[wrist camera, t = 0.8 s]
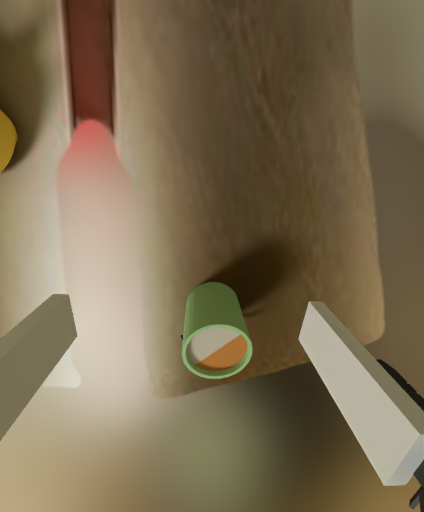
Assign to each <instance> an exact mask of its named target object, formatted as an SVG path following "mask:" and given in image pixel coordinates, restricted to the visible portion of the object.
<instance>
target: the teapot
mask: <svg viewBox="0 0 424 512" xmlns="http://www.w3.org/2000/svg"><path fill="white" fill-rule="evenodd" d="M17 140H18V135H17V133H16V129H15V127H14V125H13V123H12V122H11V121H10V119H9V118H8V117H7V116H6V115H5V114H4V113H3V112H2V111H1V110H0V173H1V172H2V171H3V170H4V169H5V167H6V166H7V165H8V163H9V161H10V159H11V157H12V155H13V152H14V148H15V144H16V142H17Z"/></svg>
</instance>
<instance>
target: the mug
mask: <svg viewBox="0 0 424 512" xmlns="http://www.w3.org/2000/svg"><path fill="white" fill-rule="evenodd" d="M181 338H182V339H183V346H182V358H183V361H184V363H185V365H186V366H187V368H188V369H189V370H190V371H192V372H193V373H195V374H196V375H199V376H201V377H205V378H212V379H218V378H225V377H228V376H231V375H234V374H236V373H238V372H239V371H240V370H242V369H243V368H244V367H245V366H246V365H247V363H248V362H249V360H250V358H251V355H252V344H251V341H250V337H249V334H248V331H247V328H246V324H245V321H244V318H243V315H242V311H241V308H240V305H239V302H238V299H237V296H236V294H235V292H234V291H233V290H232V289H231V288H230V287H229V286H227V285H225V284H223V283H219V282H208V283H204V284H201V285H199V286H197V287H196V288H195V289H194V290H193V291H192V292H191V293H190V294H189V296H188V299H187V303H186V314H185V324H184V335H181Z"/></svg>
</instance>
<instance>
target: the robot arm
mask: <svg viewBox="0 0 424 512" xmlns="http://www.w3.org/2000/svg"><path fill="white" fill-rule="evenodd" d="M76 337H77V332H76V327H75V323H74V318H73V313H72V309H71V303H70V298H69V295H67V294H53V295H52V296H51V297H49V298H48V299H47V300H46V301H45V302H43V303H42V304H41V305H40V306H39V307H38V308H36V309H35V310H34V311H33V312H32V313H31V314H29V315H28V316H27V317H26V318H25V319H24V320H22V321H21V322H20V323H19V324H18V325H17V326H15V327H14V328H13V329H12V330H11V331H9V332H8V333H7V334H6V335H5V336H4V337H2V338H1V339H0V441H1V439H2V438H3V436H4V435H5V434H6V432H7V431H8V430H9V428H10V427H11V426H12V424H13V423H14V422H15V420H16V419H17V417H18V416H19V415H20V413H21V412H22V410H23V409H24V408H25V407H26V405H27V404H28V402H29V401H30V400H31V398H32V397H33V396H34V394H35V393H36V392H37V390H38V389H39V387H40V386H41V385H42V383H43V382H44V381H45V379H46V378H47V377H48V375H49V374H50V372H51V371H52V370H53V368H54V367H55V366H56V364H57V363H58V362H59V360H60V359H61V357H62V356H63V355H64V353H65V352H66V351H67V349H68V348H69V347H70V345H71V344H72V343H73V341H74V340H75V338H76ZM299 341H300V343H301V344H302V346H303V348H304V349H305V351H306V353H307V354H308V356H309V358H310V360H311V361H312V363H313V365H314V366H315V368H316V370H317V372H318V373H319V375H320V376H321V378H322V380H323V382H324V383H325V385H326V387H327V389H328V390H329V392H330V394H331V395H332V397H333V399H334V400H335V402H336V404H337V406H338V407H339V409H340V411H341V413H342V414H343V415H344V418H345V419H346V421H347V423H348V424H349V426H350V428H351V430H352V431H353V433H354V435H355V436H356V438H357V440H358V442H359V443H360V445H361V447H362V448H363V450H364V452H365V454H366V455H367V457H368V459H369V460H370V462H371V464H372V465H373V467H374V469H375V471H376V472H377V474H378V476H379V477H380V479H381V481H382V482H383V484H384V485H385V486H389V485H406V484H407V482H408V481H409V480H410V479H411V477H412V476H413V475H414V476H415V477H416V479H417V480H418V481H419V483H420V484H421V487H420V488H419V490H418V491H417V492H416V493H415V494H414V496H413V497H412V498H411V499H410V504H409V507H411V508H412V509H414V508H415V507H416V506H417V505H418V503H419V502H420V509H421V512H424V399H423V398H422V397H421V396H420V395H419V394H417V392H416V391H415V389H414V388H413V387H412V386H410V384H407V382H406V380H405V379H404V378H403V377H402V376H401V375H400V374H399V373H398V372H397V371H396V370H395V369H393V368H392V367H391V366H389V365H388V364H386V363H385V362H384V361H382V360H376V359H374V357H373V356H372V355H371V354H370V353H369V352H368V351H367V350H366V349H365V348H364V347H363V346H362V344H361V343H360V342H359V341H358V340H357V339H356V338H355V337H354V336H353V335H352V334H351V333H350V332H349V330H348V329H347V328H346V327H345V326H344V325H343V324H342V323H341V322H340V321H339V320H338V319H337V318H336V316H335V315H334V314H333V313H332V312H331V311H330V310H329V309H328V308H327V307H326V306H325V305H324V304H323V302H312V301H309V303H308V307H307V311H306V314H305V318H304V321H303V325H302V328H301V332H300V336H299Z"/></svg>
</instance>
